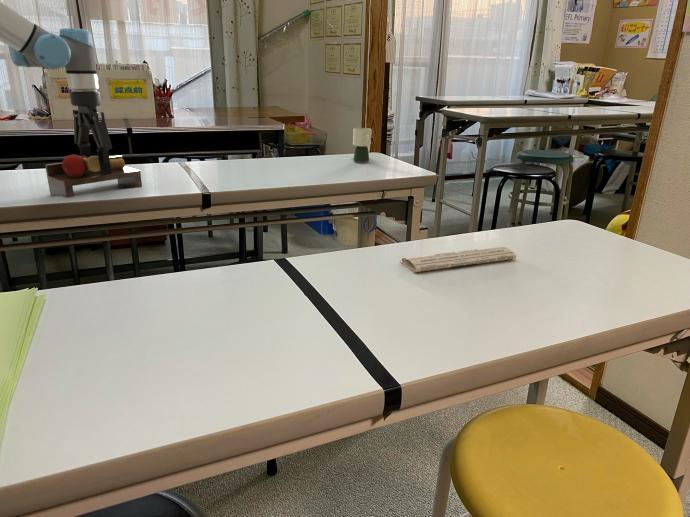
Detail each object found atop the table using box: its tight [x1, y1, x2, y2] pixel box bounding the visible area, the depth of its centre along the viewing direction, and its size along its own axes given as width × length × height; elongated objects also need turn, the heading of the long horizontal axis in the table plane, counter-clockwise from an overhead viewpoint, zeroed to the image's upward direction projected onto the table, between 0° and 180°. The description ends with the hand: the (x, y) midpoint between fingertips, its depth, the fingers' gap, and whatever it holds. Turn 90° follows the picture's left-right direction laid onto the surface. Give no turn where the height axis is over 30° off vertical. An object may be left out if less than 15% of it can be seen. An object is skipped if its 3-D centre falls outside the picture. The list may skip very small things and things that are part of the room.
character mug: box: [352, 127, 372, 163], centre depth 203 cm, size 11×7×13 cm, turn 27°
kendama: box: [61, 154, 126, 177], centre depth 148 cm, size 8×6×18 cm
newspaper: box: [399, 245, 517, 273], centre depth 105 cm, size 24×7×2 cm, turn 112°
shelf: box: [44, 155, 143, 199], centre depth 149 cm, size 22×11×8 cm, turn 140°
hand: (97, 171), depth 148 cm, fingers open, 10 cm apart
